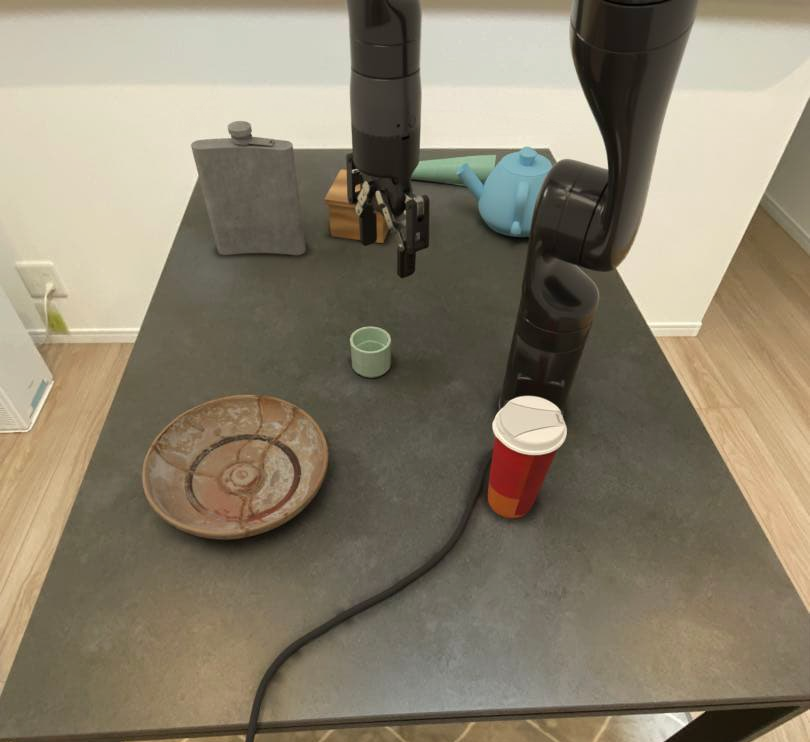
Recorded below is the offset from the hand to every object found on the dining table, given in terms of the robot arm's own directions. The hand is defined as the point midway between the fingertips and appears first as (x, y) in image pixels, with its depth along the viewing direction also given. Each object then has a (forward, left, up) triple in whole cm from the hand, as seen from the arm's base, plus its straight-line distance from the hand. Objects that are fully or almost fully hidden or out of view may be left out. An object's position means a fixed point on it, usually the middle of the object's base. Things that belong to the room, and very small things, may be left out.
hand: (386, 258), depth 78 cm
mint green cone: (+58, +5, -18) cm, 61 cm away
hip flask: (+26, +29, -18) cm, 43 cm away
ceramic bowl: (-26, +13, -18) cm, 35 cm away
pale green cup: (0, +2, -18) cm, 18 cm away
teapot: (+46, -13, -18) cm, 51 cm away
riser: (+38, +13, -18) cm, 44 cm away
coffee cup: (-21, -22, -18) cm, 35 cm away
